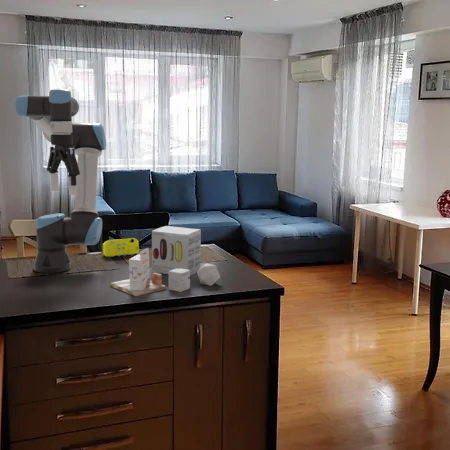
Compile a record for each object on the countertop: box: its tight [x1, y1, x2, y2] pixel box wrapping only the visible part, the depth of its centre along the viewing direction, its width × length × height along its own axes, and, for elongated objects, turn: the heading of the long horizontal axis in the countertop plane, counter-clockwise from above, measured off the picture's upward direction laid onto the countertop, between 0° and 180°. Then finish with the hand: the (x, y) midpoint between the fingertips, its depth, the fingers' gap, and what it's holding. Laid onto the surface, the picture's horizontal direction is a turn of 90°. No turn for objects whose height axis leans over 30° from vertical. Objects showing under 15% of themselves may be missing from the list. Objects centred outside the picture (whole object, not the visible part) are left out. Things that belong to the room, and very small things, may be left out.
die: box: [196, 263, 221, 287], centre depth 230 cm, size 8×9×10 cm
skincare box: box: [168, 268, 191, 293], centre depth 222 cm, size 6×6×7 cm
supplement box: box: [151, 225, 202, 277], centre depth 247 cm, size 17×13×18 cm
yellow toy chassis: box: [102, 237, 140, 258], centre depth 275 cm, size 16×6×8 cm, turn 116°
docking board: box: [109, 272, 167, 297], centre depth 224 cm, size 17×14×5 cm
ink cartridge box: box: [128, 247, 151, 291], centre depth 218 cm, size 9×5×15 cm, turn 166°
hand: (63, 192), depth 213 cm, fingers open, 13 cm apart
